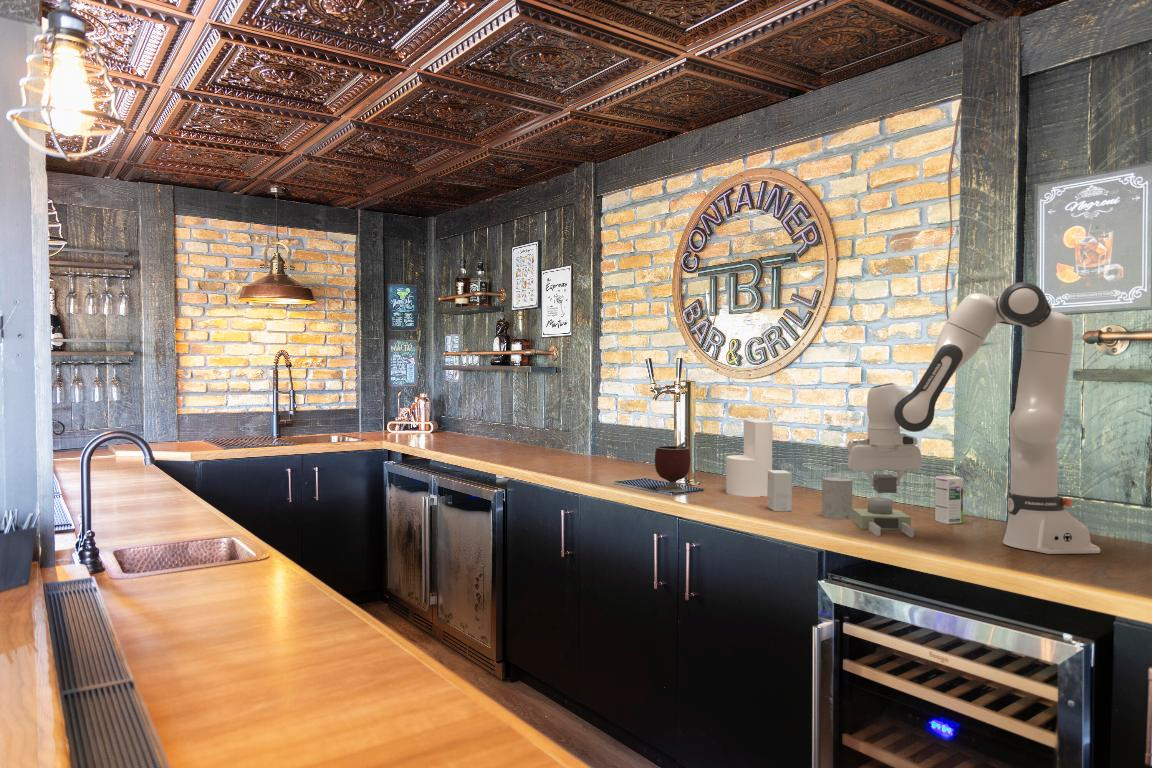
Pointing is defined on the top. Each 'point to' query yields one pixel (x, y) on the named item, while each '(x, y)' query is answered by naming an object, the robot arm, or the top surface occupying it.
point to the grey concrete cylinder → (837, 497)
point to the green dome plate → (882, 517)
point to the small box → (779, 490)
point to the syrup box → (949, 499)
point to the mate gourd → (672, 465)
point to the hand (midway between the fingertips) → (884, 485)
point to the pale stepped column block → (751, 461)
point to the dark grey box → (885, 483)
